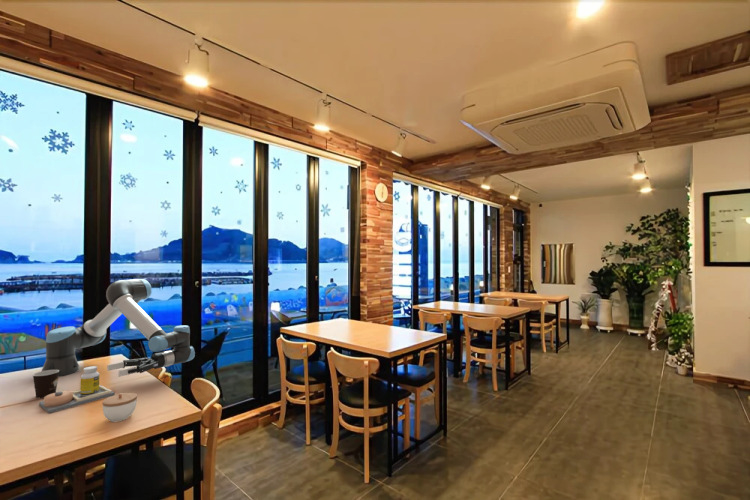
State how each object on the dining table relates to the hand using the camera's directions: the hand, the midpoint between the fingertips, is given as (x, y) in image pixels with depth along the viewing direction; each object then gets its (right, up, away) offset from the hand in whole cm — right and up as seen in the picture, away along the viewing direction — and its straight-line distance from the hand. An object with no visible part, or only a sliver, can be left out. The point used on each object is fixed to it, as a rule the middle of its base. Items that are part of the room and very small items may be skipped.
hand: (113, 370), depth 162 cm
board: (-7, -9, -11) cm, 16 cm away
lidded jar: (+23, -9, -28) cm, 37 cm away
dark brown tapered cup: (-26, -9, -4) cm, 28 cm away
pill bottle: (-5, -8, -7) cm, 12 cm away
